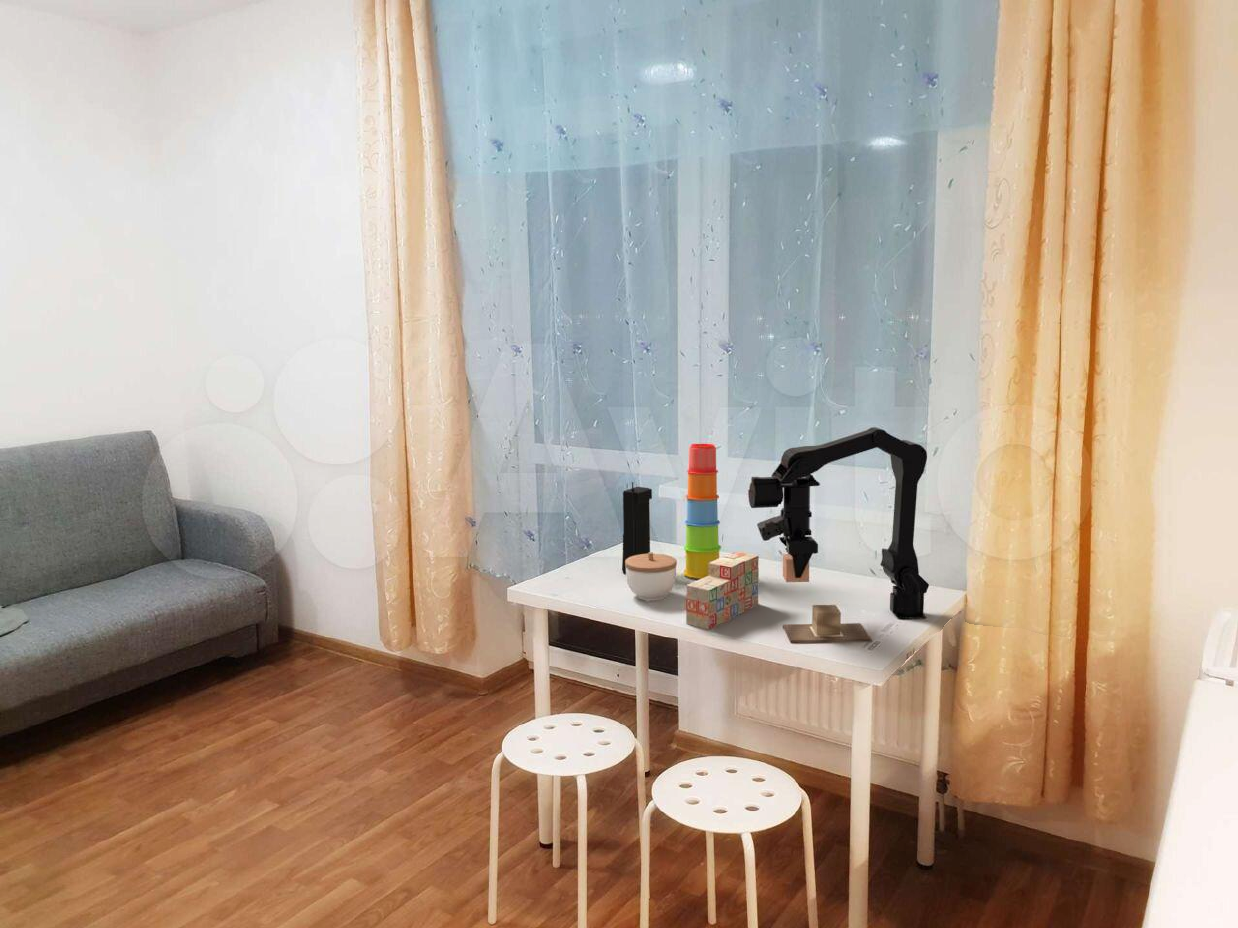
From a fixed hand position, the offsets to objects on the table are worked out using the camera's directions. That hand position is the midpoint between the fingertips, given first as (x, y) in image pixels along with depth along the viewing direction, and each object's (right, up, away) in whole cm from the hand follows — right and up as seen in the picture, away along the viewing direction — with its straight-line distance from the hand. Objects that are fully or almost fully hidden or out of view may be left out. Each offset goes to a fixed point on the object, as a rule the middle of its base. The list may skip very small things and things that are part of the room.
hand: (796, 574), depth 204 cm
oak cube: (+5, -11, -7) cm, 14 cm away
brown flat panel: (+5, -12, -7) cm, 15 cm away
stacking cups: (-17, -5, +38) cm, 42 cm away
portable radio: (-34, -4, +42) cm, 54 cm away
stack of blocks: (-15, -10, +7) cm, 20 cm away
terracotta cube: (0, -1, 0) cm, 1 cm away
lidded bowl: (-32, -8, +21) cm, 39 cm away
